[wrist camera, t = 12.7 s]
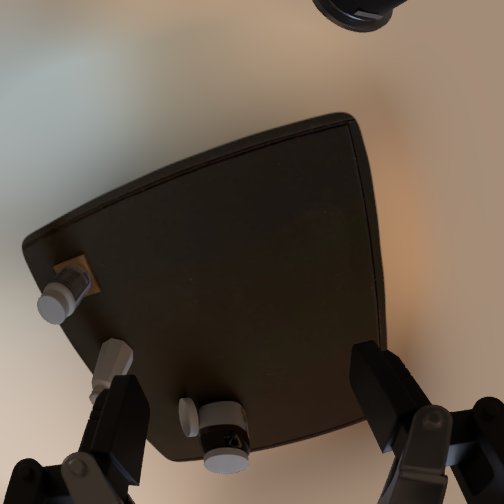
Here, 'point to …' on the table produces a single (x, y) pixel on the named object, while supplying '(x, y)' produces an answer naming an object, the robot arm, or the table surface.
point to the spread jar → (218, 433)
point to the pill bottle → (64, 294)
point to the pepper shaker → (110, 365)
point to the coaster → (84, 263)
